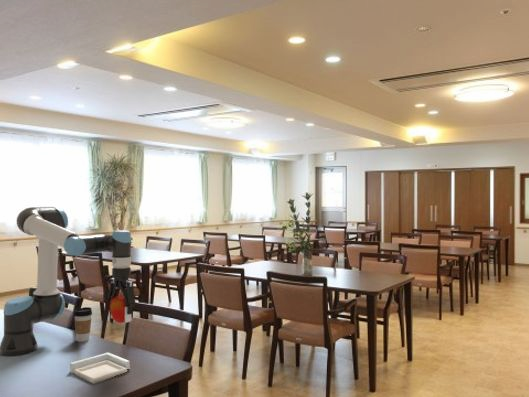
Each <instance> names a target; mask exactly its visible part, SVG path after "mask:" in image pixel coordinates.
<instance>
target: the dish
mask: <svg viewBox="0 0 529 397" xmlns="http://www.w3.org/2000/svg"><path fill="white" fill-rule="evenodd" d="M125 372H127V373H128V370H127V368H125V367H123V366H120V365H118V364H115V363H113V362H111V361H108V360H106V361H102V362H99V363H96V364H92V365H89V366H85V367H82V368H79V369H75V372H73V374H74V375H75V376H77V377H80V379H81V378H82V379H83V380H85V381H87V382H89V383H91V384H97V383H101V382H103V381H105V380H106V379H107V380H109V378H110V379H112V378H111V377H113V378H115V377H114V376H116V375H119V374H122V373H125ZM125 374H126V373H125ZM122 375H123V374H122ZM119 376H120V375H119ZM116 377H117V376H116Z"/></svg>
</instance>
